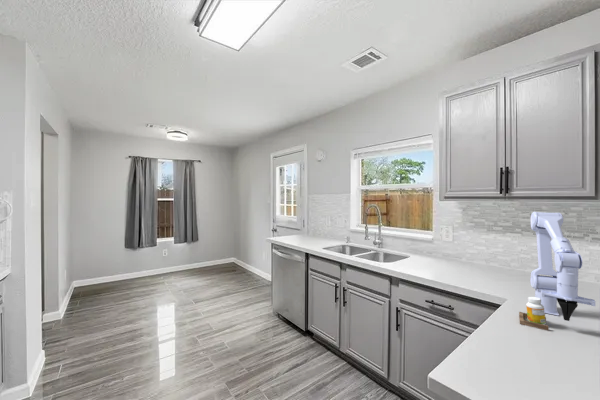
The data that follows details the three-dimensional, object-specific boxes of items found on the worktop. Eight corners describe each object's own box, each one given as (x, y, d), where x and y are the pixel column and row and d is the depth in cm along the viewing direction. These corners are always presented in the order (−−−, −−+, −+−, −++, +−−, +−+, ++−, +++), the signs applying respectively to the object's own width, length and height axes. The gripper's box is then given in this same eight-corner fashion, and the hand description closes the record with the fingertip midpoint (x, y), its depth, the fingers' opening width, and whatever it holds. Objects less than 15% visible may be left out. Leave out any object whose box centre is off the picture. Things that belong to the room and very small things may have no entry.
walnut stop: (519, 315, 115) (519, 311, 114) (545, 321, 109) (545, 317, 109) (519, 324, 106) (519, 320, 106) (548, 330, 101) (548, 326, 101)
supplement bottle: (527, 319, 111) (524, 295, 111) (544, 321, 108) (542, 297, 108) (528, 324, 106) (526, 299, 107) (546, 326, 103) (544, 301, 104)
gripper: (542, 282, 103) (541, 317, 103) (597, 291, 94) (596, 329, 94) (540, 278, 109) (540, 311, 109) (593, 286, 100) (592, 322, 100)
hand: (566, 319), depth 102 cm, fingers closed
